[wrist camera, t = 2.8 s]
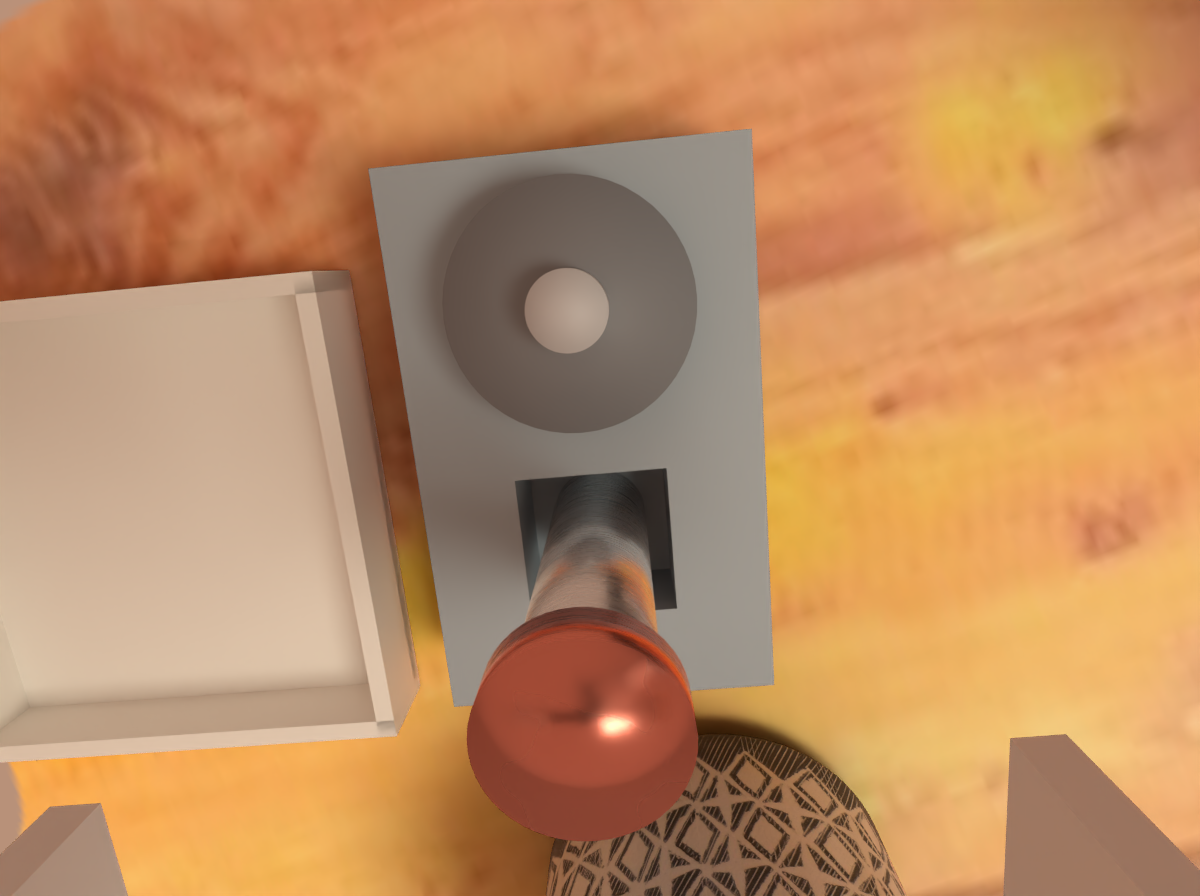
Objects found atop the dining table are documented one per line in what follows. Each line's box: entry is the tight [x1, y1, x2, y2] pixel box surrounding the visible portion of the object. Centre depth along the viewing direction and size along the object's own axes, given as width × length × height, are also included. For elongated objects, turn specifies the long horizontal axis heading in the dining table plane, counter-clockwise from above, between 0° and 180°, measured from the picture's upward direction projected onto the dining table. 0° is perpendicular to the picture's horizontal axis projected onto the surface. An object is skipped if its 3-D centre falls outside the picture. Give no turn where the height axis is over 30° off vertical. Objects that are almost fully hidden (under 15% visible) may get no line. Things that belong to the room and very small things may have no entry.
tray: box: [0, 270, 420, 762], centre depth 24 cm, size 15×15×3 cm
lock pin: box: [467, 472, 698, 841], centre depth 19 cm, size 4×4×12 cm
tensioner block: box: [368, 129, 774, 707], centre depth 21 cm, size 16×10×7 cm, turn 5°
